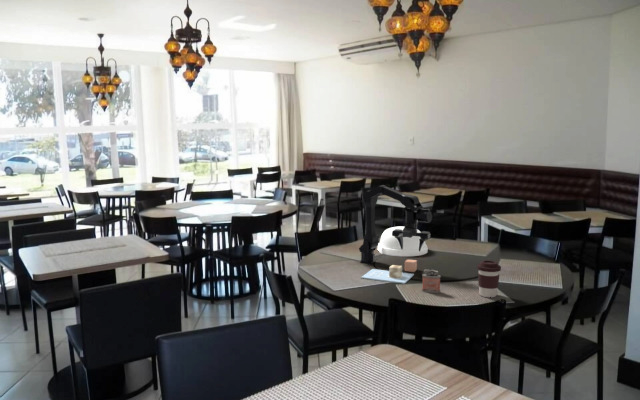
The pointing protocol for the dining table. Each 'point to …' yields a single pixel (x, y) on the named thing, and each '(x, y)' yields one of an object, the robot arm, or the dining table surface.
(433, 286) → the lighter
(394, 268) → the birch block
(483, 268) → the coffee cup
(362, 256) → the robot arm
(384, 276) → the blueprint board
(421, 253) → the dome cover
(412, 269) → the peach block
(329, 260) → the dining table surface
